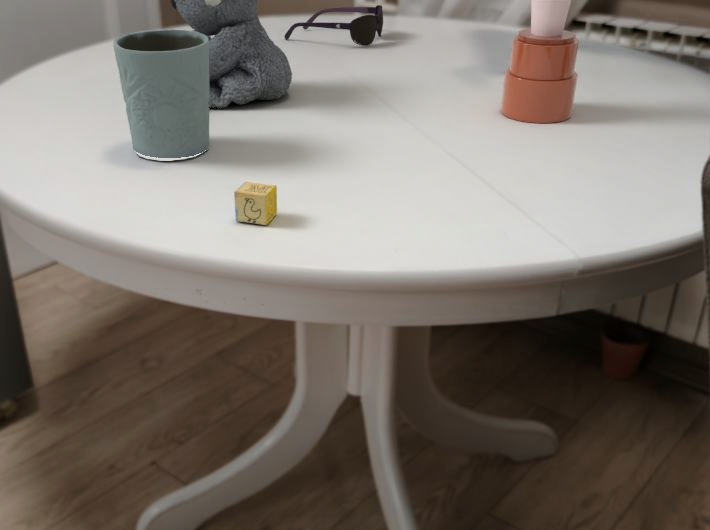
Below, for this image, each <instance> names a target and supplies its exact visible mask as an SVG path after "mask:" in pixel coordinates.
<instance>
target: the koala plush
mask: <svg viewBox="0 0 710 530" xmlns="http://www.w3.org/2000/svg"><path fill="white" fill-rule="evenodd" d="M169 1H170V4H171V6H172V8H173V9H174V10H176V11H177V12H178V13H179V15H180V16H181V18H182V19H183V20H184V22H185V23H187V25H188V26H189V27H190V28H191V29H192V30H190V31H195V32H199V33H202V34H204V35H206V36H207V37H208V39H209V100H208V104H209V107H210V108H211V107H212V108H213V109H215V108H214V107H217V108H218V107H223V108H227V107H228V106H229V105H230V104H231V103H232V102H233V103H235V104H236V105H239V106H243V105H245V104H249V103H250V102H253V101H255V100H259V101H267V100H271V101H272V100H276V99H279V98H281V97H282V96H283V95H284V94H286V93H287V92H288V90H289V88H290V86H291V84H292V79H293V72H292V67H291V66H290V61H289V59H288V56H287V55H286V53H285V52H284V51H283V50H282V48H280V47H279V46H278V45H276V44H275V43H274V41H273V40H272V39H271V38H270V36H269V35H268V32H267V31H266V29H265V27H264V26H263V25H262V22H261V21H260V17H259V15H258V14H257V9H258V8H257V7H258V0H169ZM212 36H213V37H212ZM242 104H243V105H242ZM218 109H219V108H218Z"/></svg>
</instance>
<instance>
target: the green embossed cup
mask: <svg viewBox="0 0 710 530" xmlns="http://www.w3.org/2000/svg"><path fill="white" fill-rule="evenodd" d="M112 46H113V51H114V56H115V61H116V65H117V69H118V76H119V81H120V87H121V93H122V96H123V101H124V103H125V112H126V117H127V121H128V127H129V131H130V136H131V142H132V143H131V145H132V149H133V151H134V150H135V151H136V152H138V153H140V154H142V155H145V156H150V157H156V158H157V157H158V158H181V157H189V156H194V155H196V154H199V153H202V152H204V151H205V150H207V149H208V147H209V148H210V108H209V104H208V100H209V39H208V37H207V36H206V35H204V34H202V33H199V32H197V31H196V32H195V31H191V30H188V29H172V28H171V29H169V28H168V29H166V28H164V29H162V28H161V29H147V30H139V31H133V32H129V33H124V34H122V35H119V36H117V37H116V38H115V39H114V40H113V42H112ZM208 150H209V149H208Z"/></svg>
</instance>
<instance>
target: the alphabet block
mask: <svg viewBox="0 0 710 530" xmlns="http://www.w3.org/2000/svg"><path fill="white" fill-rule="evenodd" d="M233 193H234V195H233V197H234V213H235V215H234V216H235V221H236V222H241V223H247V224H256V225H261V226H268V225H269V224H270V223H271V222H272V221H273V220H274V218H275V217H276V216H277V215H276V214H278V187H277V185H276V184H270V183H269V184H267V183H259V182H251V181H245V182H244V183H242V184H241V185H240V186H239V187H237V189H236V190H234V192H233ZM275 215H276V216H275ZM274 216H275V217H274ZM273 217H274V218H273Z"/></svg>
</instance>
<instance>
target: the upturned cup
mask: <svg viewBox="0 0 710 530" xmlns="http://www.w3.org/2000/svg"><path fill="white" fill-rule="evenodd" d="M579 44H580V39H578V38H577V37H576V33H574V32H572V31H569V30H565V29H563V33H562V35H560V36H555V37H544V36H537V35H533V34H531V27H530V28H523V29H521V30H519V31H518V32H517V34H515V35H513V37H512V45H511V53H510V61H509V67H507V68H506V69H505V71H504V78H503V87H502V94H501V95H502V96H501V103H500V104H501V106H500V113H501V114H502V115H503V116H505V117H507V118H509V119H511V120H514V121H520V122H524V123H531V124H532V123H533V124H552V123H560V122H563V121H567V120H568V119H570V118H572V115H573V113H572V112H573V107H574V101H575V96H576V90H577V84H578V83H577V82H578V76H579V75H578V72H576V63H577V57H578V51H579V46H580V45H579Z"/></svg>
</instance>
